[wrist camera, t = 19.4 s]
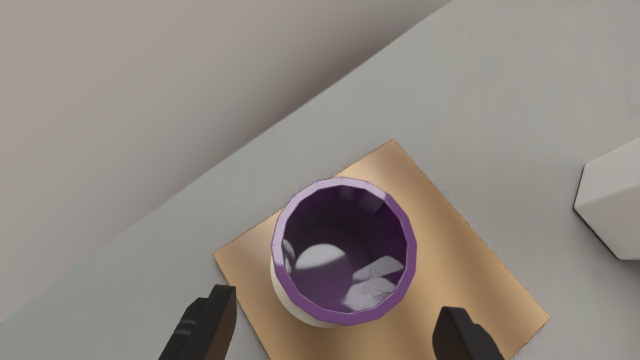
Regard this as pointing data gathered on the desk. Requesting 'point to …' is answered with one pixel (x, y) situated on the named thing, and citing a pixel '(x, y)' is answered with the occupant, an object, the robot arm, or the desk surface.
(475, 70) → the desk surface
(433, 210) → the board
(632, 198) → the jar
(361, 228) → the plum cup
